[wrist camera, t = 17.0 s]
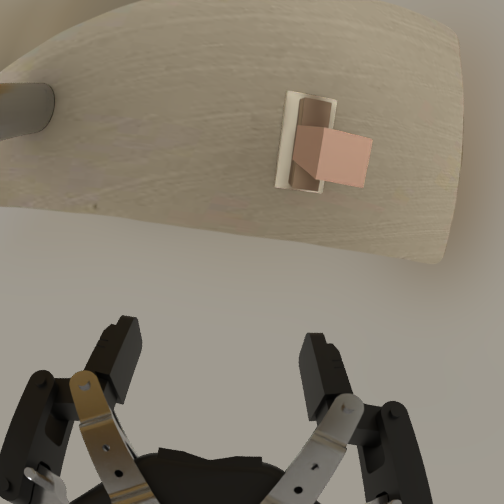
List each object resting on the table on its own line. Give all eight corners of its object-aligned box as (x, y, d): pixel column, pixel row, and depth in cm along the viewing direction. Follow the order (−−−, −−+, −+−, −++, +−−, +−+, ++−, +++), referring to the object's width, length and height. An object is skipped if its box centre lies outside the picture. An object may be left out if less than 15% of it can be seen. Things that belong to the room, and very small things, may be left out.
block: (292, 159, 33) (315, 179, 22) (297, 125, 31) (324, 127, 20) (326, 165, 33) (362, 188, 22) (332, 131, 31) (372, 139, 20)
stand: (273, 185, 39) (277, 193, 35) (286, 91, 33) (291, 87, 28) (319, 191, 40) (328, 200, 35) (333, 100, 33) (345, 98, 29)
